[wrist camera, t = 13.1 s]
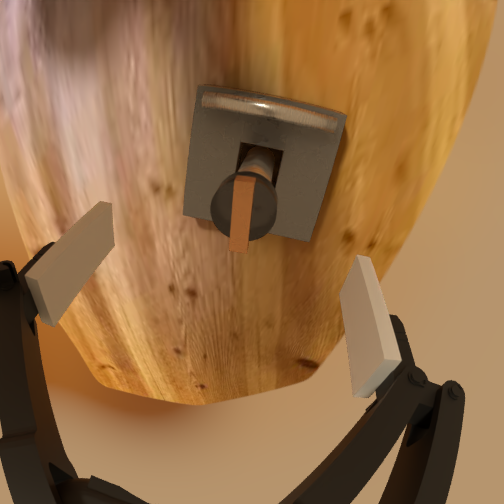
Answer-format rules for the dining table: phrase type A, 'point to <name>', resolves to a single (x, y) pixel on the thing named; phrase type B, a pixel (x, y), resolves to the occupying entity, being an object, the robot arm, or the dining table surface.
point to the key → (247, 200)
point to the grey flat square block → (268, 135)
